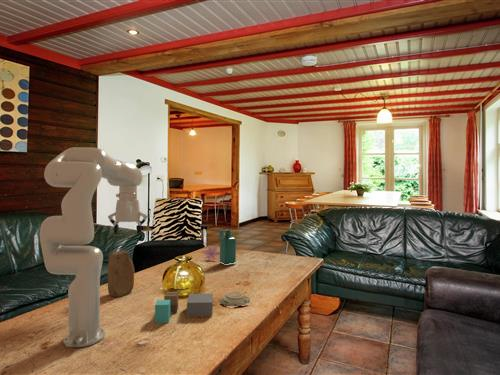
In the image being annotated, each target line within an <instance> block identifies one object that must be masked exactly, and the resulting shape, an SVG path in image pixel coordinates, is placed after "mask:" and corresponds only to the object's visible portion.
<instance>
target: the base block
mask: <svg viewBox="0 0 500 375" xmlns="http://www.w3.org/2000/svg"><path fill="white" fill-rule="evenodd" d="M187 297H188V298H187V300H186V318H202V317H201V316H212V317H213V312H212V311H213V310H214V309H213V308H214V293H212V292H211V293H189V295H188V296H187Z"/></svg>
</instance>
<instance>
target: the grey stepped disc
mask: <svg viewBox="0 0 500 375" xmlns="http://www.w3.org/2000/svg"><path fill="white" fill-rule="evenodd" d="M250 299H251V298H250V296H248V295H247V294H245V293H244V292H242V291H229V292H227V293H226V294H223V295H222V297H220V298H219V300H218V303H219V302H220V303H221V304H222V305H221V306H224V305H225V306H242V305H245V304H247V303H249V302H250ZM225 306H224V307H225Z"/></svg>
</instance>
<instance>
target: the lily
mask: <svg viewBox="0 0 500 375" xmlns="http://www.w3.org/2000/svg"><path fill="white" fill-rule="evenodd" d="M218 247H219V244H216V245H214V246H211V245H209V244H208V248H207V249H206V250H205V249H204V250H202V251H201V253H202V254H203V255H205V259H207V258H208V260H211V259H215V260H216V256H220V251H218Z"/></svg>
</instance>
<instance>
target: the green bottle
mask: <svg viewBox="0 0 500 375" xmlns="http://www.w3.org/2000/svg"><path fill="white" fill-rule="evenodd" d="M232 232H233V230H232V229H224V230H223V229H219V230H218V234H219V235H218V236H219V238H220V239H219V253H220V254H219V263H220V262H222V263H224V264H229V263H234V262H236V263H237V261H236V260H237V238H236V237H235V236H232Z"/></svg>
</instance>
